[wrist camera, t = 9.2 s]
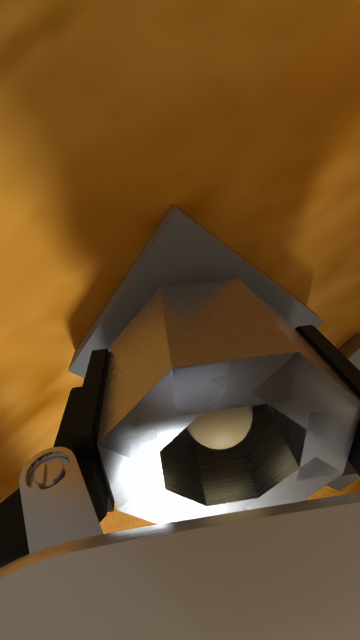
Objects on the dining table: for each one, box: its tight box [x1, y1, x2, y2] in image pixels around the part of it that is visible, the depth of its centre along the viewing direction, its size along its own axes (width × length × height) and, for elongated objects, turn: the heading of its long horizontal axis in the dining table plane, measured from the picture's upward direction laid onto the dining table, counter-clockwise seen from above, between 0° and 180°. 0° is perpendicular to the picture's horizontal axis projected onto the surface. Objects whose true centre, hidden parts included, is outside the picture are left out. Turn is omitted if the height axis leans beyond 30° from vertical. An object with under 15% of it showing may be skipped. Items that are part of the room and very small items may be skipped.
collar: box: [97, 279, 360, 524], centre depth 10 cm, size 7×7×4 cm
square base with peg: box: [68, 205, 323, 449], centre depth 11 cm, size 8×8×6 cm
